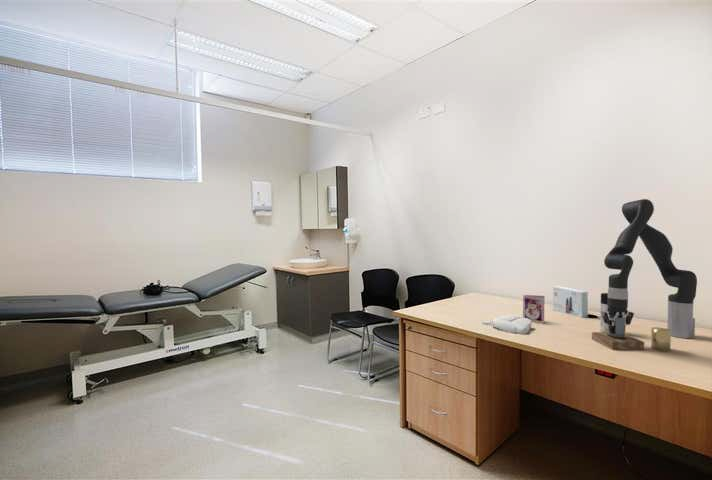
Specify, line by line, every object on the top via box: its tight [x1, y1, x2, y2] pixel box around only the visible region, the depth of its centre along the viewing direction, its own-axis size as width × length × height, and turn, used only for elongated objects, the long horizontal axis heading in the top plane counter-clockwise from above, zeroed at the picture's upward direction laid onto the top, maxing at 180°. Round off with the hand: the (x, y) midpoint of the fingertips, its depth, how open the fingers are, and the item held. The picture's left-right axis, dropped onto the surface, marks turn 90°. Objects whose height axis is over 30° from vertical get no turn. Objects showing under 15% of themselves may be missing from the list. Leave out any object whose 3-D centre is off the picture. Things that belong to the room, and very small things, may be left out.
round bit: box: [650, 326, 672, 353], centre depth 153 cm, size 6×6×9 cm
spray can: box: [600, 292, 610, 332], centre depth 178 cm, size 7×7×20 cm
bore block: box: [591, 331, 645, 351], centre depth 160 cm, size 14×14×4 cm
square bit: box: [609, 317, 626, 339], centre depth 160 cm, size 4×4×11 cm
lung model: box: [481, 314, 532, 335], centre depth 188 cm, size 7×17×25 cm
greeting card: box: [522, 294, 545, 325], centre depth 199 cm, size 11×7×15 cm, turn 42°
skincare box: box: [552, 285, 589, 319], centre depth 216 cm, size 21×6×16 cm, turn 17°
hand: (616, 333), depth 160 cm, fingers closed on square bit, 4 cm apart
